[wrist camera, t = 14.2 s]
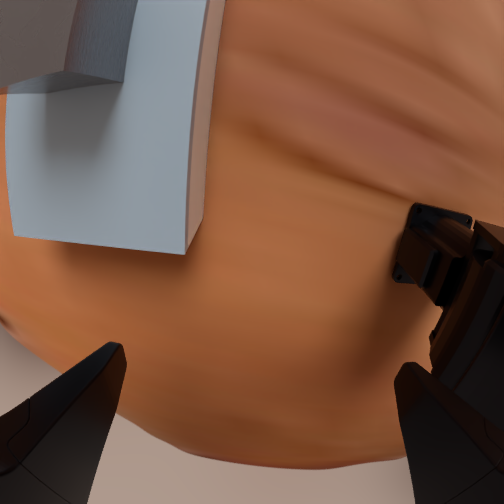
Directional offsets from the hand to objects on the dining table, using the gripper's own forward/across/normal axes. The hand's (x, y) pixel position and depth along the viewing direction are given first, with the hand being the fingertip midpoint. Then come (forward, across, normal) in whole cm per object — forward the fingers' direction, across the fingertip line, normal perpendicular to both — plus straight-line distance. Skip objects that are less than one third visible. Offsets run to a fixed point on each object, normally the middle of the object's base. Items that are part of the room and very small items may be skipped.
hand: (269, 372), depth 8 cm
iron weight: (+7, +10, -11) cm, 16 cm away
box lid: (+8, +10, -11) cm, 17 cm away
